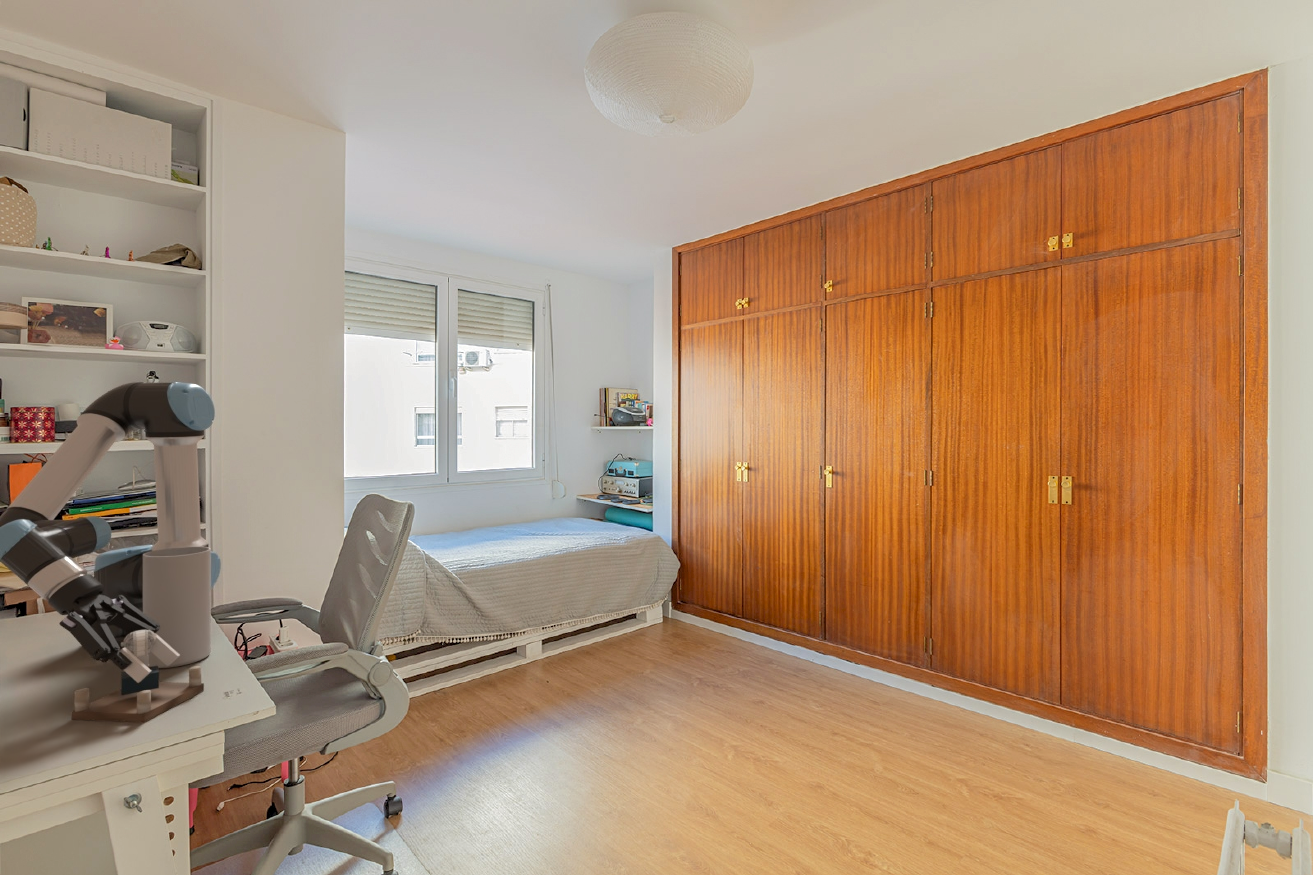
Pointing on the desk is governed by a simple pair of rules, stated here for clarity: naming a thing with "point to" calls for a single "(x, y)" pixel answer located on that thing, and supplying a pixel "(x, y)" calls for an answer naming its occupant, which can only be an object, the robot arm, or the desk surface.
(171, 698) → the peg base
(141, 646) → the watch
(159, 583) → the cylinder vase
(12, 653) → the desk surface
